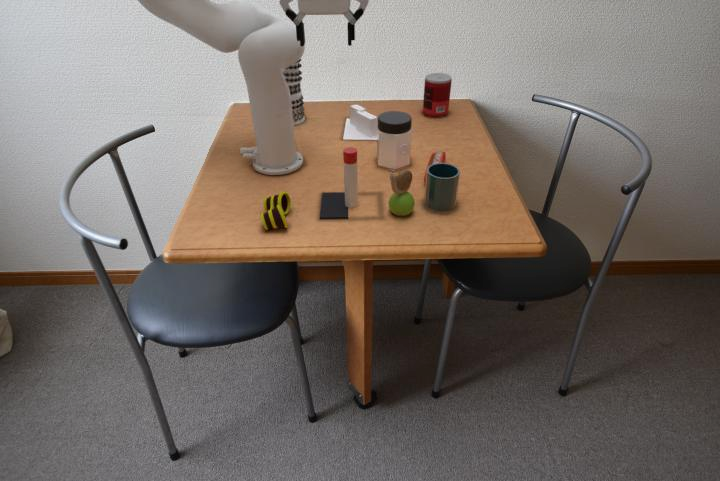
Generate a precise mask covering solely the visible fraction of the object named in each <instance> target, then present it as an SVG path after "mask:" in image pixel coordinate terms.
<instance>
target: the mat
mask: <svg viewBox="0 0 720 481" xmlns="http://www.w3.org/2000/svg"><path fill="white" fill-rule="evenodd" d="M319 220H349V207H346V206H345V191H343V192H341V191H340V192H337V191H336V192H335V191H334V192H332V191H331V192H322V193H321V203H320V212H319Z"/></svg>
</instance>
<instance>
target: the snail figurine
mask: <svg viewBox="0 0 720 481" xmlns="http://www.w3.org/2000/svg"><path fill="white" fill-rule="evenodd" d="M389 172H390V173H389V174H390V176H389V180H390V186H391V190H392V192H393V193H392V194H391V195H390V197H389V199H388V208H389V210H390V212H391V213H392V214H394V215H395V216H398V217H406V216H408V215H411V213H412V212H413V210H414V208H415V205H416V202H415V199H414V196H413V195H412V193H411V192H409V189H410V188H411V184H412V181H413V173H412V171H410V169H403V170H400V172H399V173H398V174H397V175H396V173H395V169H392V168H389Z"/></svg>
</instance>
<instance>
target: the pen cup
mask: <svg viewBox="0 0 720 481" xmlns="http://www.w3.org/2000/svg"><path fill="white" fill-rule="evenodd" d="M427 167H428V166H427ZM427 167H426V171H427V172H426V171H425V174H426V184H425V183H424V196H423V198H424V199H423V204H424V205H425V207H426V208H428V209H429V210H432V211H435V212H447V211H451V210H453V209H454V208H455V207H456V205H457V198H458V192H459V184H460V178H461V177H460V176H461V170H460V168H459V167H458V166H456V165H455V164H452V163H447V162H445V163H436V164H432V165H430V166H429V167H428V168H427Z"/></svg>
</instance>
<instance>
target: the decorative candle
mask: <svg viewBox="0 0 720 481" xmlns="http://www.w3.org/2000/svg"><path fill="white" fill-rule="evenodd" d="M300 62H302V59H301V58H300V59H299V60H298V61H297V62H296V63H294V64H293V65H291V66H289V67H288V68H286V69H285V70H283V75H284V78H285V80H286V82H287V84H288V87H289V90H290V95H291V104H292V114H293V124H294V126H297V125H300V124H302V123H304V122H305V120H306V118H305V116H306V114H305V107H304V106H303V105H305V102H304V96H303V91H302V88H301V82H302V80H303V77H302V76H301V75H302V74H303V72H302V71H301V70H300V68H302V66H303V65H302V63H300Z"/></svg>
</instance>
